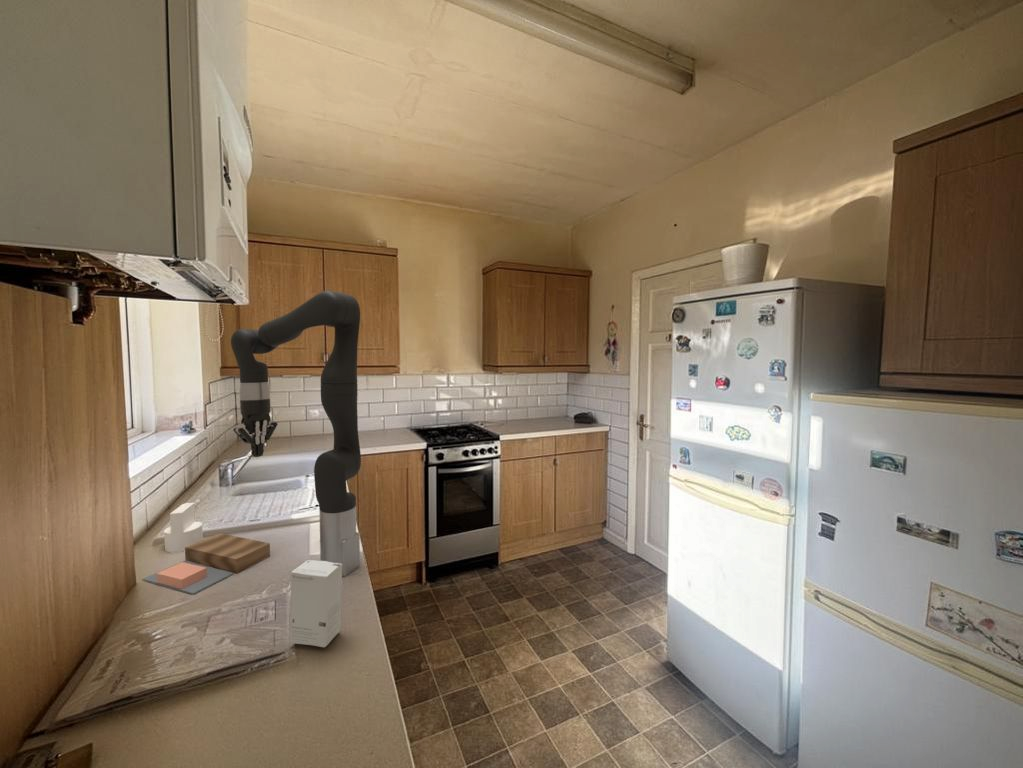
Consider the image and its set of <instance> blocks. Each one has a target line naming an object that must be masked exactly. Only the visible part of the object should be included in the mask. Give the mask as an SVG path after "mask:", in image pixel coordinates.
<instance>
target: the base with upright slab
mask: <svg viewBox="0 0 1023 768" xmlns="http://www.w3.org/2000/svg"><path fill="white" fill-rule="evenodd" d="M195 504H196V503H195V502H187V503H182V504H180V505H179V506H178V507H176V509H174V510H173V511H171V512H170V514H169V519H170V520H169V522H170V523H169V524H170V526H168V527H167V528H165V529H164V531H163V533H164V535H163V536H164V551H165V552H166V553H167V552H168V553H180V552H185V547H187V546H190V545H192V544H195V543H197V542H200V541H202V540H204V538H203V535H204V534H203V523H202V522H201V521H196V505H195Z"/></svg>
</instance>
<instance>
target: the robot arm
mask: <svg viewBox="0 0 1023 768" xmlns="http://www.w3.org/2000/svg"><path fill="white" fill-rule="evenodd" d="M360 324H361V308H360V304H359V301H358V300H357V299H356V297H354V296H353V295H350V294H347V293H343V292H337V291H335V290H333V291H332V290H324V291H321V292H319V293H317V294H316V295H314V296H313V297H311V298H309V299H308V300H306V301H305V302H303V303H302V304H300V305H299V306H298V307H296V308H295V309H293V310H291V311H290V312H288V313H285V314H283V315H282V316H279V317H276V318H273V319H271V320H269V321H266V322H265V323H263V324H261V325H260V326H259V328H258V329H248V328H238V329H236V330H235V331H234V332H233V333H232V334H231V335H232V336H231V338H230V346H231V350H232V352H233V355H234V358H235V360H236V364H237V366H238V369H239V382H240V383H239V406H240V407H239V409H240V415H241V416H242V418H241V420H240V424H239V425H238V426H237V427H234V428H233V432H234V433H235V434H236V435H237V436H238V438H240V440H242V441H243V443H244V444H250V447H251V448H250V450H251V455H252V456H253V457H254V458H259V457H262V456H263V455H264V452H265V451H264V449H265V447H264V443H265V442H267V441H269V440H270V439H271V437H272V435H273V434H274V432H275V430H276V428H277V426H278V424H279V423H278V422H276V421H273V420H272V418H271V416H270V413H271V408H272V407H271V389H270V385H269V368H268V365H267V363H264V362H262V361H258V360H256V358H255V356H254V355H262V354H264V355H265V354H268V353H271V352H273V351H275V349H276V348H278V347H279V346H280V345H283V344H287V343H289V342H292V341H293V340H296V339H297V338H299V336H301V335H302V334H303V332H304V331H305V330H307V329H309V328H314V327H321V326H325V327H329V328H334V343H333V348H332V351H331V353H330V355H329V357H328V359H327V361H326V363H325V365H324V366H323V369H322V371H321V375H320V401H321V405H322V408H323V410H324V412H325V414H326V415H327V417H328V420H329V421H330V423H331V426H332V429H333V430H332V431H333V449H331V450H327V451H324V452H323V453H321V454H319V455H318V457H317V458H316V460H315V463H314V468H313V472H314V473H313V478H314V491H315V497H316V501H317V502H318V504H319V506H318V508H319V510H318V511H319V551H320V552H319V555H320V558H319V559H320V560H319V561H328V562H332V563H340V564H342V577H346V576H347V575H349V574H350V573H352V572H353V571H355V570H356V569H357V568H359V567H360V566H361V553H360V552H361V547H360V546H361V545H360V544H361V543H360V542H361V541H360V540H361V539H360V537H361V536H360V532H358V531H357V497H356V495H355V494H354V493H353V492H349V491H347V489H348V488H347V481H348V480H350V479H352V478H354V477H355V476H357V475H358V474H359V471H360V469H361V466H362V455H361V454H362V453H361V446H360V439H359V437H360V436H359V428H358V427H359V426H358V423H359V422H358V421H359V420H358V344H359V333H360Z"/></svg>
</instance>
